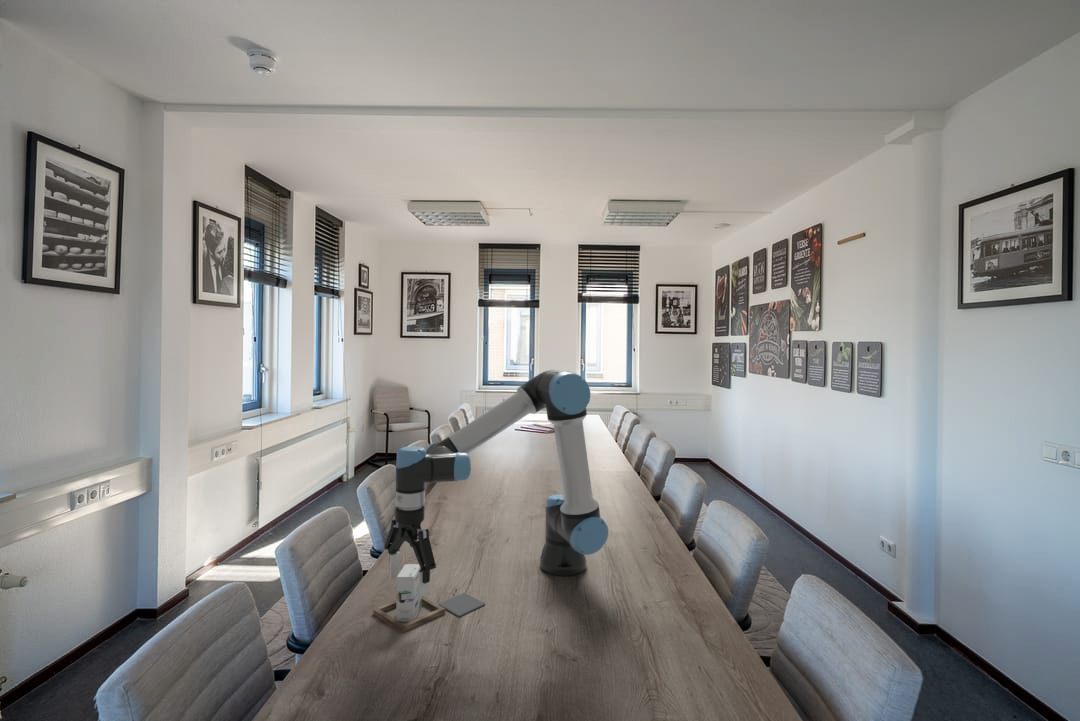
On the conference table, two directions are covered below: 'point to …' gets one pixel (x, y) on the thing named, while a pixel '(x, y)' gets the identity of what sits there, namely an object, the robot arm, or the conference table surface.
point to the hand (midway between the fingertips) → (408, 585)
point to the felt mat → (461, 604)
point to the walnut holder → (404, 627)
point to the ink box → (408, 593)
